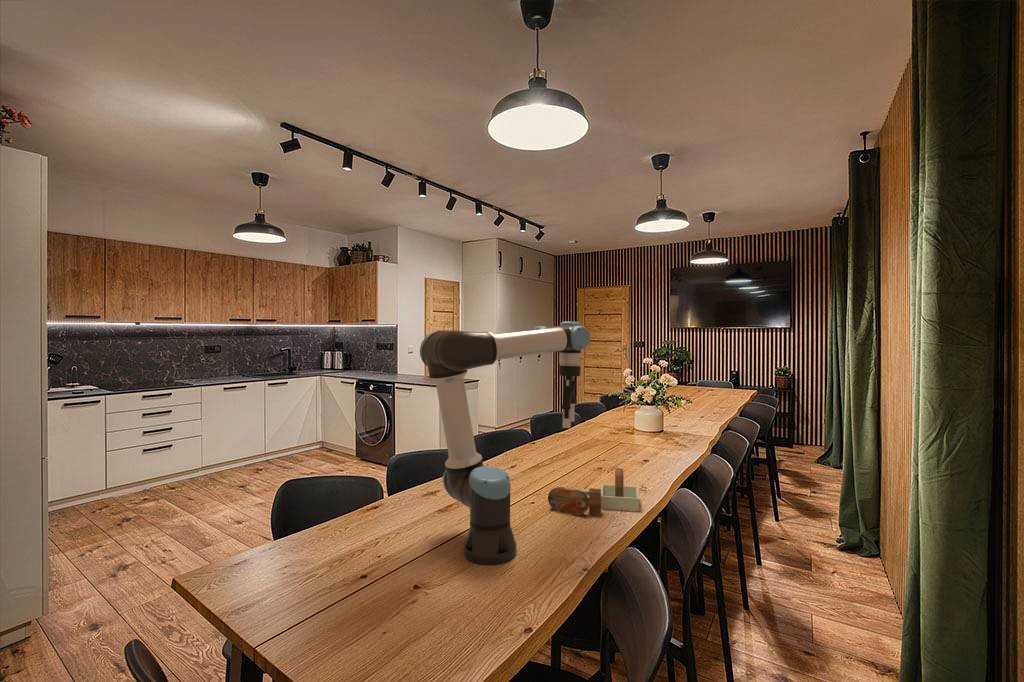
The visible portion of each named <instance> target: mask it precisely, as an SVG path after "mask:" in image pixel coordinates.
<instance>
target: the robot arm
mask: <svg viewBox="0 0 1024 682" xmlns="http://www.w3.org/2000/svg"><path fill="white" fill-rule="evenodd" d="M590 343H591V332H590V331H589V329H588V328H587V327H586V326H584V325H582V324H581V323H580V322H579V321H562V322H560V325H557V326H556V325H555V326H554V325H552V326H548V325H546V326H545V325H540V326H538V325H537V326H535V327H534V328H533V329H532V330H531V329H530V330H524V331H523V330H522V331H515V332H514V331H513V332H503V333H495V334H494V333H492V332H491V331H480V332H479V331H465V330H444V329H443V330H437V331H433V332H431V333H428V334H427V335H426V336H425V337H424V339H423V340H422V341H421V343H420V346H419V356H420V359H421V361H422V363H423V364H424V365H425V366H426V367H427V370H428V377H429V379H430V380H431V381H433V382H434V383H435V386H436V393H437V397H438V398H437V399H438V402H439V403H438V404H439V409H440V413H441V415H440V416H441V419H442V426H443V432H444V436H445V437H444V438H445V442H446V443H445V444H446V448H447V455H448V458H447V459H446V461H445V462H444V466H445V471H444V472H443V475H442V484H443V487H444V490H445V492H447V494H448V495H449V496H450V497H451V498H452V499H454V500H456V501H457V502H459V503H461V504H462V505H464V506H466V507H467V508H469V528H468V531H467V534H466V538H465V541H464V544H463V555H464V557H465V558H466V559H467V560H468V561H469V562H472V563H474V564H479V565H486V566H487V565H499V564H503V563H507V562H510V561H511V560H512V559H514V558H515V557H516V556H517V542H516V541H517V540H516V538H515V536H514V533H513V530H512V526H511V490H512V486H511V479H510V476H509V474H508V473H507V471H505V470H504V469H502V468H500V467H494V466H489V465H486V466H485V465H484V460H483V456H482V454H480V453H478V451H477V449H476V444H475V439H474V438H475V437H474V431H473V426H472V419H471V412H470V406H469V402H468V396H467V391H466V385H465V379H464V378H465V376H466V375H467V373H468V370H471V369H476V368H479V367H480V368H481V367H484V366H485V367H486V366H492V365H494V364H495V363H496V362H497V361H500V360H507V359H513V358H515V359H516V358H520V357H528V356H534V355H541V354H547V353H548V354H549V353H555V352H559V358H558V360H559V361H558V363H559V364H560V365H559V369H558V374H559V376H561V377H565V379H564V380H563V382H562V383H563V393H562V396H563V397H562V405H560V409H561V410H562V429H563V428H564V429H571V427H572V426H571V425H572V424H571V423H572V422H575V405H577V400H576V378H577V377H581V360H582V359H583V356H582V355H581V354H582V353H581V351H582V350H584V349H586V348H588V346H589V345H590ZM575 377H576V378H575Z"/></svg>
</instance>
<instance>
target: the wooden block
mask: <svg viewBox="0 0 1024 682" xmlns="http://www.w3.org/2000/svg"><path fill="white" fill-rule="evenodd" d="M588 490H589V507H588V515H589V516H599V517H600V516H601V515H602V509H601V488H592V487H591V488H590V487H589V489H588Z"/></svg>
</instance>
